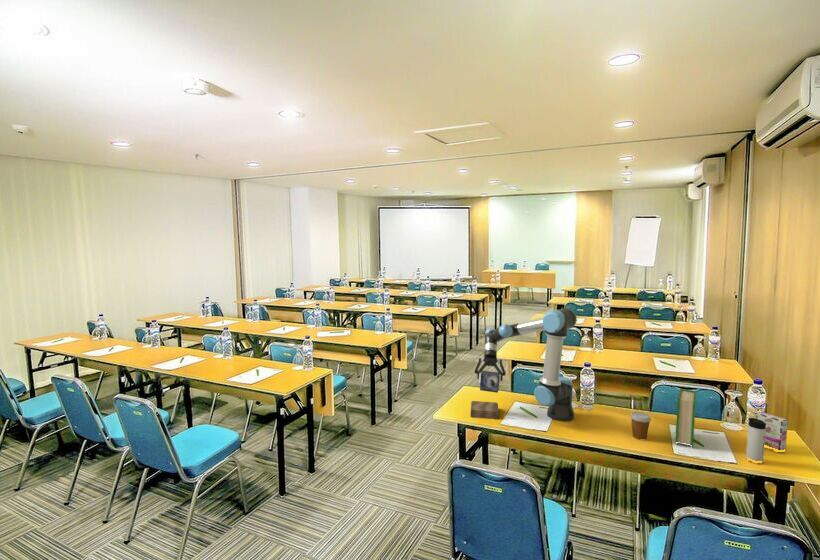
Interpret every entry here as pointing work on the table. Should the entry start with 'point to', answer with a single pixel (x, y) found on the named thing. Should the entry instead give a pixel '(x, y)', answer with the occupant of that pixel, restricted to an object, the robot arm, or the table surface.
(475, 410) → the walnut stand
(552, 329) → the robot arm
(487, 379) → the small box
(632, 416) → the disposable coffee cup
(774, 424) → the candy bar box
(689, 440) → the hardback book
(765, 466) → the table surface
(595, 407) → the table surface
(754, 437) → the travel mug
